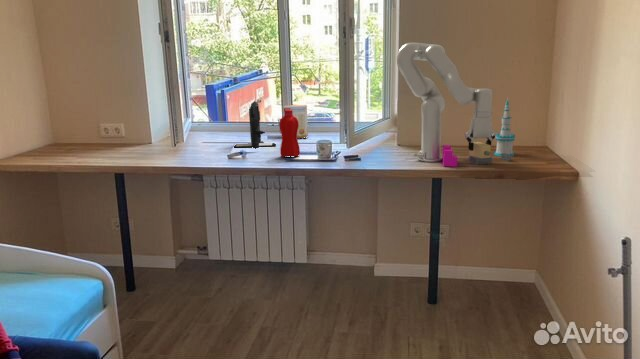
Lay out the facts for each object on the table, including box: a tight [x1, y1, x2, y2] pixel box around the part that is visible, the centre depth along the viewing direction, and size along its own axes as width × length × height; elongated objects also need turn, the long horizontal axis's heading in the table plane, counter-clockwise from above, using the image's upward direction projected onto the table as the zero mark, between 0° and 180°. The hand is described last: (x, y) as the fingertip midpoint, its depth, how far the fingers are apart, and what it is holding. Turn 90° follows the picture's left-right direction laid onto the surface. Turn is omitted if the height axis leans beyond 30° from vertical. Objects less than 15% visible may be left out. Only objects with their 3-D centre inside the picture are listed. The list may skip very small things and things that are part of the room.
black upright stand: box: [233, 98, 277, 151], centre depth 314 cm, size 32×25×28 cm
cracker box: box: [283, 104, 309, 138], centre depth 339 cm, size 14×6×21 cm, turn 82°
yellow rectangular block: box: [469, 141, 492, 158], centre depth 262 cm, size 5×12×6 cm, turn 18°
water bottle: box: [279, 110, 301, 158], centre depth 286 cm, size 9×11×25 cm
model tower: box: [493, 97, 516, 157], centre depth 276 cm, size 10×10×30 cm
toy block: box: [441, 144, 459, 168], centre depth 263 cm, size 15×6×8 cm, turn 170°
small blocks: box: [468, 153, 512, 166], centre depth 265 cm, size 20×6×3 cm, turn 107°
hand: (479, 149), depth 262 cm, fingers open, 9 cm apart
